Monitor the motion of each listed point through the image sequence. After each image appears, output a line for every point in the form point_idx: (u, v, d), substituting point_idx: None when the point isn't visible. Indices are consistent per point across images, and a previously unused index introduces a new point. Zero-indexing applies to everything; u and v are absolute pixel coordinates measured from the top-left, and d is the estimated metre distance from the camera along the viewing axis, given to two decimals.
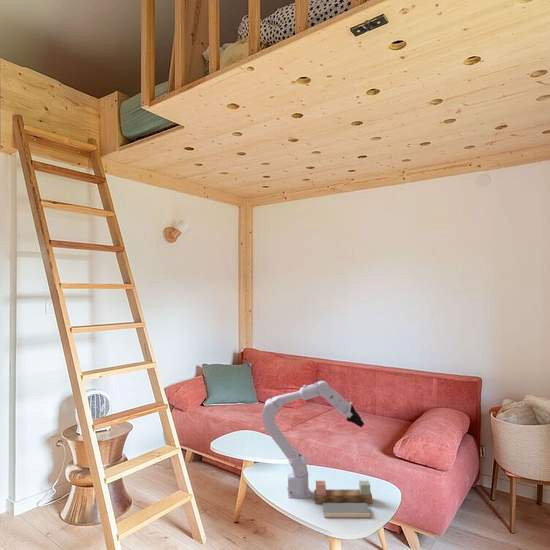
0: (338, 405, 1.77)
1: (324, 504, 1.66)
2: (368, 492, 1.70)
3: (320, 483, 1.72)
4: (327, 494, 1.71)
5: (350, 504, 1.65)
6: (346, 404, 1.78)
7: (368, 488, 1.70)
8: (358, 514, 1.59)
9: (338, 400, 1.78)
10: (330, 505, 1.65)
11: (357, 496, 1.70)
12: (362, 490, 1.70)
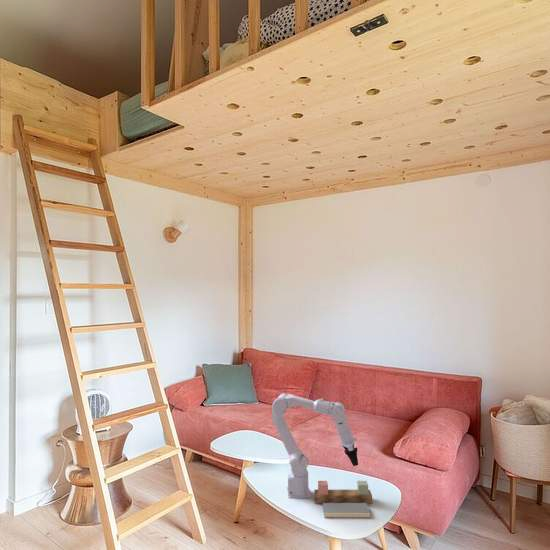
0: (343, 434, 1.73)
1: (324, 504, 1.66)
2: (366, 492, 1.70)
3: (322, 483, 1.72)
4: None
5: (350, 504, 1.65)
6: (351, 437, 1.73)
7: (366, 488, 1.70)
8: (358, 514, 1.59)
9: (345, 430, 1.73)
10: (330, 505, 1.65)
11: (357, 496, 1.70)
12: (360, 490, 1.70)
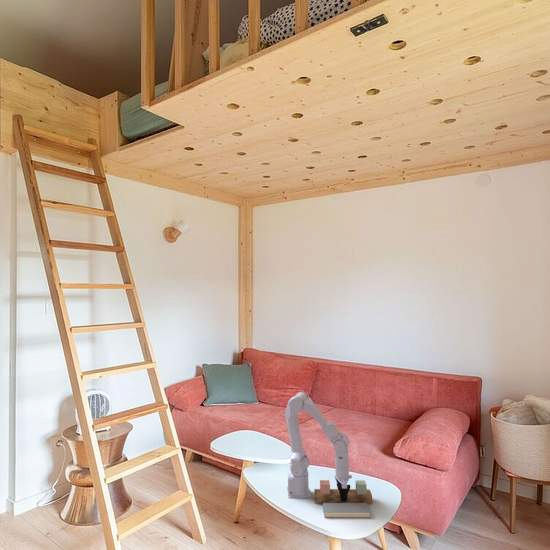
0: (341, 469, 1.70)
1: (324, 504, 1.66)
2: (364, 492, 1.70)
3: (324, 483, 1.72)
4: (327, 494, 1.71)
5: (350, 504, 1.65)
6: (347, 474, 1.70)
7: (364, 488, 1.70)
8: (358, 514, 1.59)
9: (342, 465, 1.70)
10: (330, 505, 1.65)
11: (357, 496, 1.69)
12: (358, 490, 1.70)
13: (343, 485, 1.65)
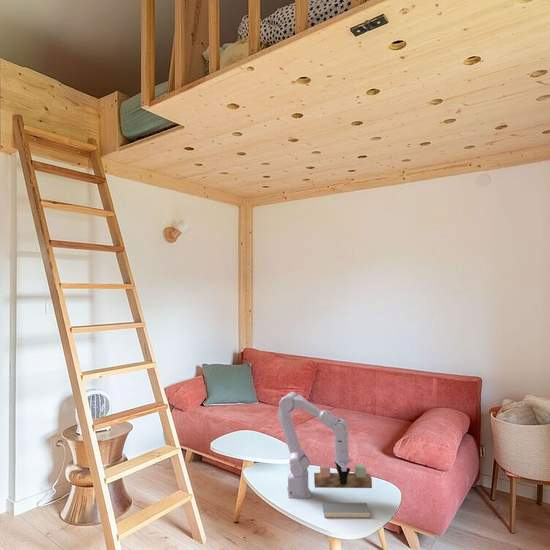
0: (340, 452, 1.70)
1: (324, 504, 1.66)
2: (364, 475, 1.70)
3: (324, 466, 1.72)
4: None
5: (350, 504, 1.65)
6: (346, 457, 1.71)
7: (364, 471, 1.70)
8: (358, 514, 1.59)
9: (342, 449, 1.70)
10: (330, 505, 1.65)
11: (357, 479, 1.69)
12: (358, 473, 1.70)
13: (343, 468, 1.65)
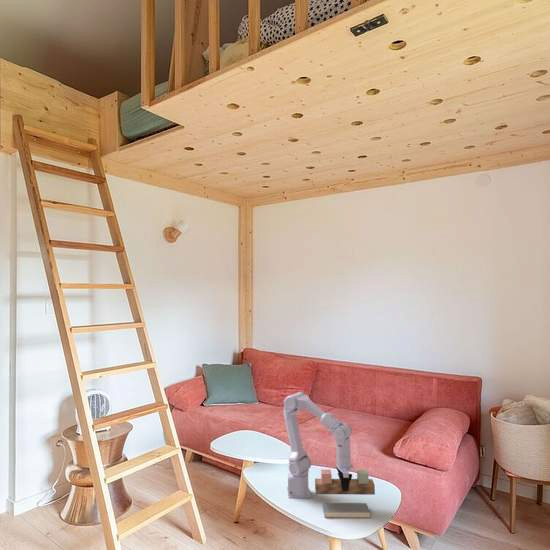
0: (342, 458, 1.65)
1: (324, 504, 1.66)
2: (366, 481, 1.64)
3: (326, 472, 1.67)
4: None
5: (350, 504, 1.65)
6: (348, 463, 1.65)
7: (366, 477, 1.64)
8: (358, 514, 1.59)
9: (342, 454, 1.65)
10: (330, 505, 1.65)
11: (359, 485, 1.64)
12: (360, 479, 1.64)
13: (345, 474, 1.60)
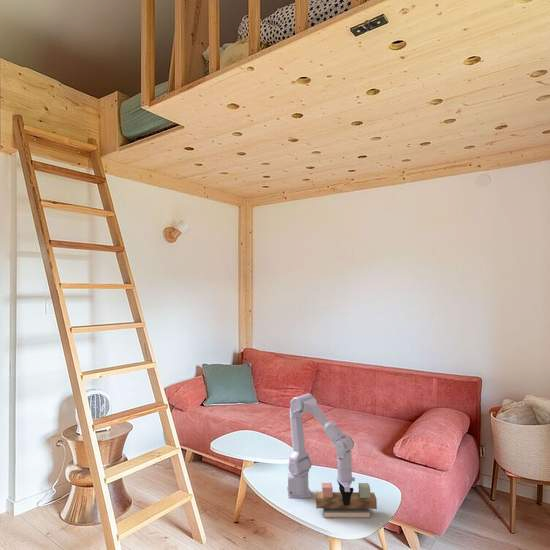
0: (343, 471, 1.61)
1: None
2: (368, 495, 1.61)
3: (326, 485, 1.63)
4: None
5: None
6: (350, 477, 1.62)
7: (368, 491, 1.61)
8: (358, 514, 1.59)
9: (342, 467, 1.61)
10: None
11: (361, 499, 1.61)
12: (362, 493, 1.61)
13: (346, 488, 1.56)
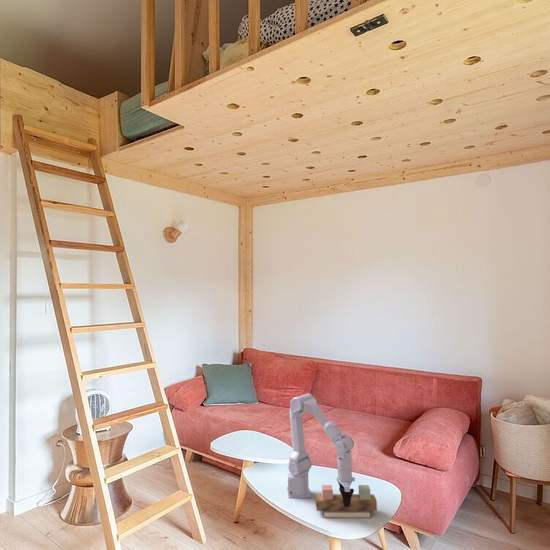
0: (343, 471, 1.61)
1: None
2: (368, 497, 1.61)
3: (327, 488, 1.63)
4: None
5: None
6: (350, 477, 1.62)
7: (368, 493, 1.61)
8: (358, 514, 1.59)
9: (342, 467, 1.61)
10: None
11: (361, 501, 1.61)
12: (362, 495, 1.61)
13: (346, 488, 1.56)
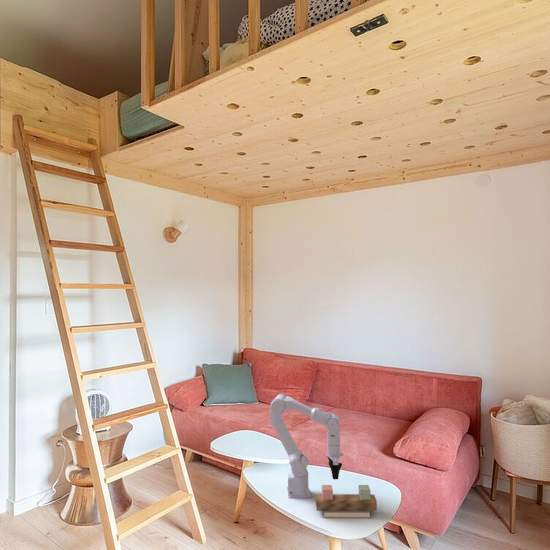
0: (332, 446, 1.74)
1: None
2: (368, 497, 1.61)
3: (327, 488, 1.63)
4: None
5: None
6: (338, 452, 1.74)
7: (368, 493, 1.61)
8: (358, 514, 1.59)
9: (335, 443, 1.74)
10: None
11: (361, 501, 1.61)
12: (362, 495, 1.61)
13: (334, 462, 1.69)
